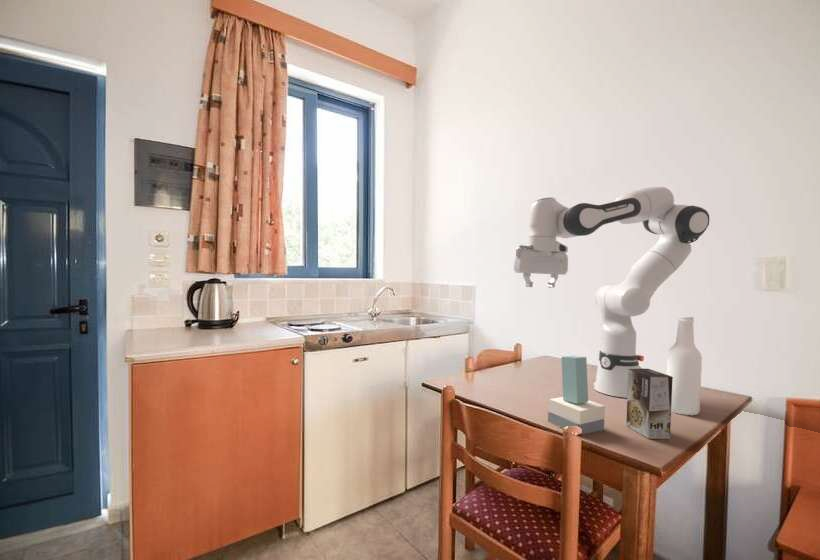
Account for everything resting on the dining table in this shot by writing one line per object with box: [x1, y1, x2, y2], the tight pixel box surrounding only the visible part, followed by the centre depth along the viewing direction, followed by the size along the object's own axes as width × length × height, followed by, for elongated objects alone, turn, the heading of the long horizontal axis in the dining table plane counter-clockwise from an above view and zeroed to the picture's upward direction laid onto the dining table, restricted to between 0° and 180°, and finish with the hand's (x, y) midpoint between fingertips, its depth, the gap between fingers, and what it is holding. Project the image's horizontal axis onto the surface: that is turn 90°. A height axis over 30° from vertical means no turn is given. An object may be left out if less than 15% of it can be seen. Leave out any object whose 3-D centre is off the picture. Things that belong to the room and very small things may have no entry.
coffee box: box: [625, 368, 673, 440], centre depth 102 cm, size 9×6×16 cm
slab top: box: [548, 396, 606, 425], centre depth 105 cm, size 10×10×4 cm
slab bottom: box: [547, 410, 605, 435], centre depth 105 cm, size 10×10×4 cm
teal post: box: [561, 355, 589, 404], centre depth 105 cm, size 4×4×12 cm
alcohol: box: [666, 314, 703, 417], centre depth 120 cm, size 9×9×30 cm
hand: (540, 287), depth 129 cm, fingers open, 8 cm apart
